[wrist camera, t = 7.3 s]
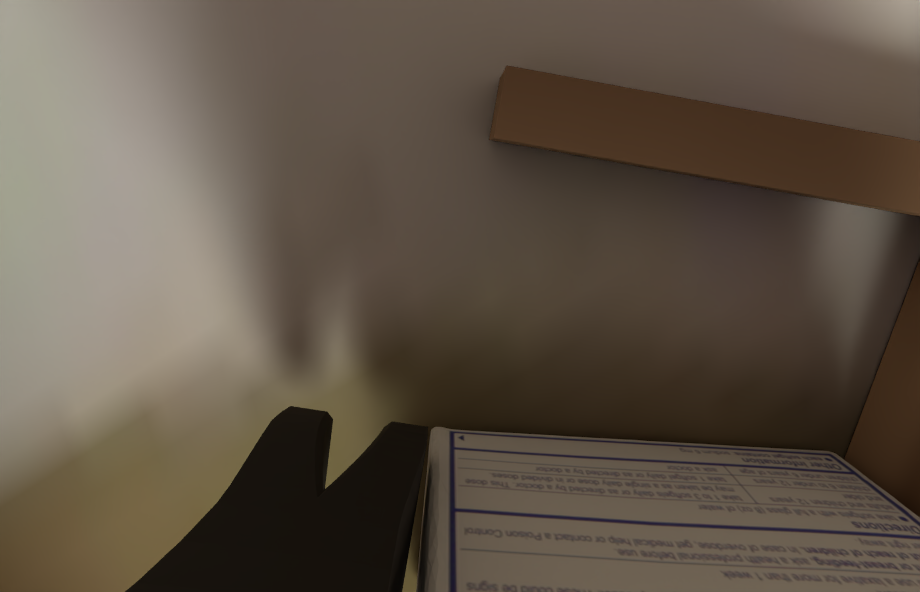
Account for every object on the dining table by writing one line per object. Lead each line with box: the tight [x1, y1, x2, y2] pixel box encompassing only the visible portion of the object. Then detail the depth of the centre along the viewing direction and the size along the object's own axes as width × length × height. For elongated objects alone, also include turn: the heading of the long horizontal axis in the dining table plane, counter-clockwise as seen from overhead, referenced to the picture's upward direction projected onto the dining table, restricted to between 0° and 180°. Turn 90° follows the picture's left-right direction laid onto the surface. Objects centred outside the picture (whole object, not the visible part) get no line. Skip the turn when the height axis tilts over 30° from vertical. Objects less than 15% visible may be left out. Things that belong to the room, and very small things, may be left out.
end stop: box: [489, 66, 920, 517], centre depth 10 cm, size 14×10×3 cm
